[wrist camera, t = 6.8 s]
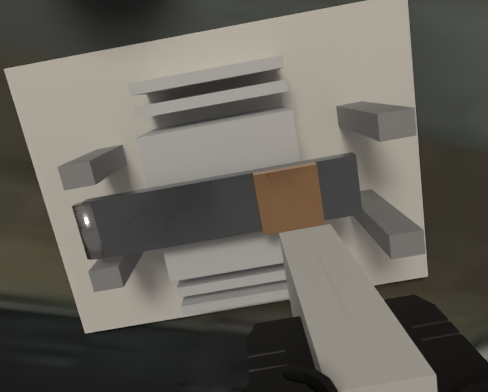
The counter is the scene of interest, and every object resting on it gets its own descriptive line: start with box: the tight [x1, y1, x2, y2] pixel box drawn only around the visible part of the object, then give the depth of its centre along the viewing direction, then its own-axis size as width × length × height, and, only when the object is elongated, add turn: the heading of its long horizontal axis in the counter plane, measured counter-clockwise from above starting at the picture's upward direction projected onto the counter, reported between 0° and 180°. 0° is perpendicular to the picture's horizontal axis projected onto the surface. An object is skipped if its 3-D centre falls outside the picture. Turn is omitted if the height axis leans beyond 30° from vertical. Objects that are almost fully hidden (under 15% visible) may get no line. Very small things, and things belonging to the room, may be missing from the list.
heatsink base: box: [4, 0, 428, 333], centre depth 24 cm, size 24×18×9 cm
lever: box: [72, 152, 363, 260], centre depth 21 cm, size 14×3×2 cm, turn 100°
